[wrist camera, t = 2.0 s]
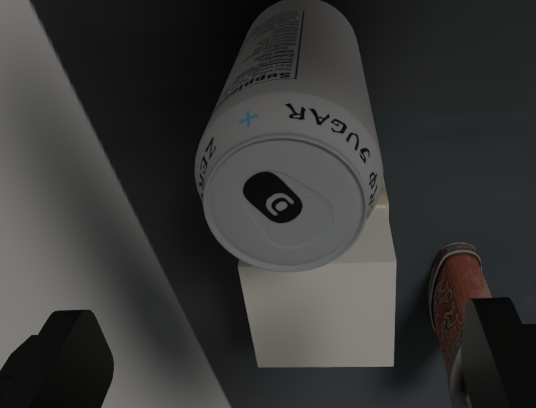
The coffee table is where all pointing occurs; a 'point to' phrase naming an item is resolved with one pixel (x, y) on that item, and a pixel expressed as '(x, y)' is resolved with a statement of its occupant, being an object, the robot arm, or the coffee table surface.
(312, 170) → the energy drink can
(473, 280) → the lighter
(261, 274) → the cream block
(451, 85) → the coffee table surface
